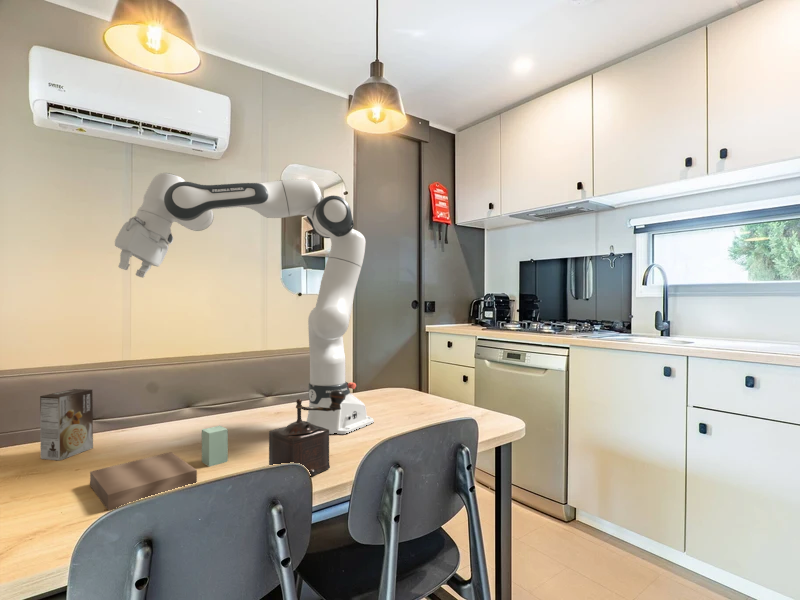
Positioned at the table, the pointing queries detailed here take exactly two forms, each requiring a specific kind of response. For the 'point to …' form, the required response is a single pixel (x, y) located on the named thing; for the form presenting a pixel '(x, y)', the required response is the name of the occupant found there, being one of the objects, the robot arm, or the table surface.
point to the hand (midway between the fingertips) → (131, 272)
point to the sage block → (214, 445)
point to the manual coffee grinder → (304, 439)
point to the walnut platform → (140, 479)
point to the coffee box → (66, 423)
